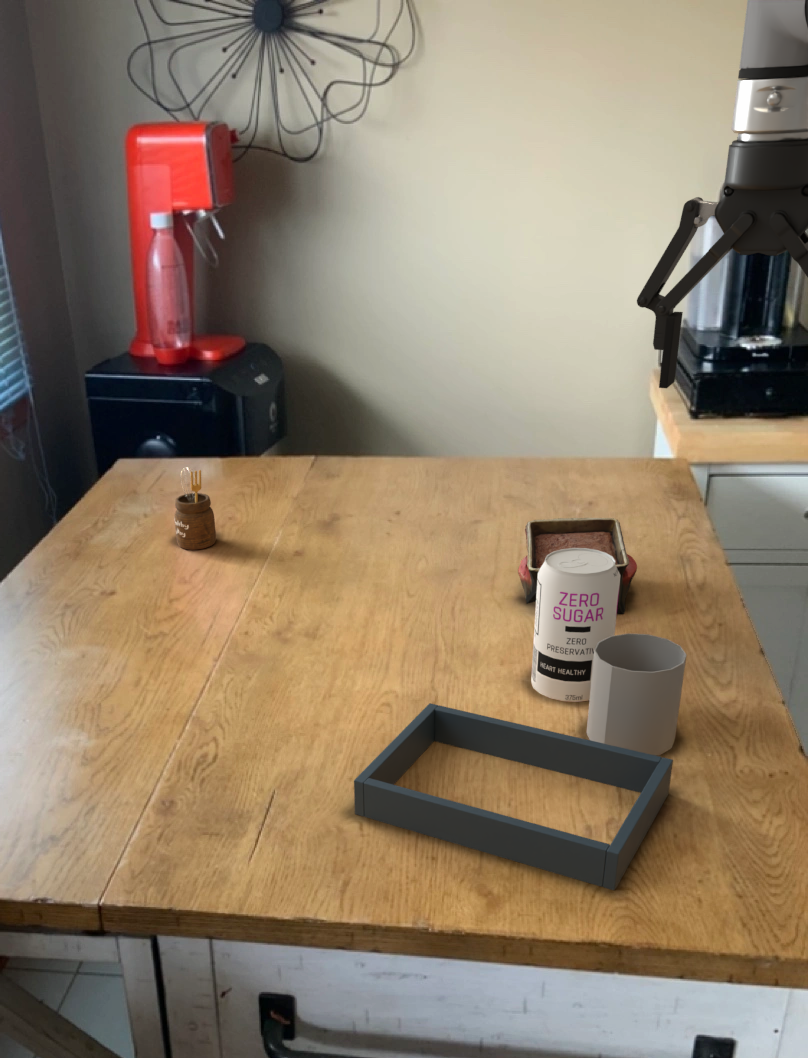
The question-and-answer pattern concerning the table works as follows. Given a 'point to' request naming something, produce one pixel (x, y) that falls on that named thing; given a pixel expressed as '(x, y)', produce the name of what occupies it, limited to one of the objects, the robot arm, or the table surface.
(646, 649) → the cup
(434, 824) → the dark grey open frame
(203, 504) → the utensil holder
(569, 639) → the supplement can
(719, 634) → the table surface
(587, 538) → the baking dish
